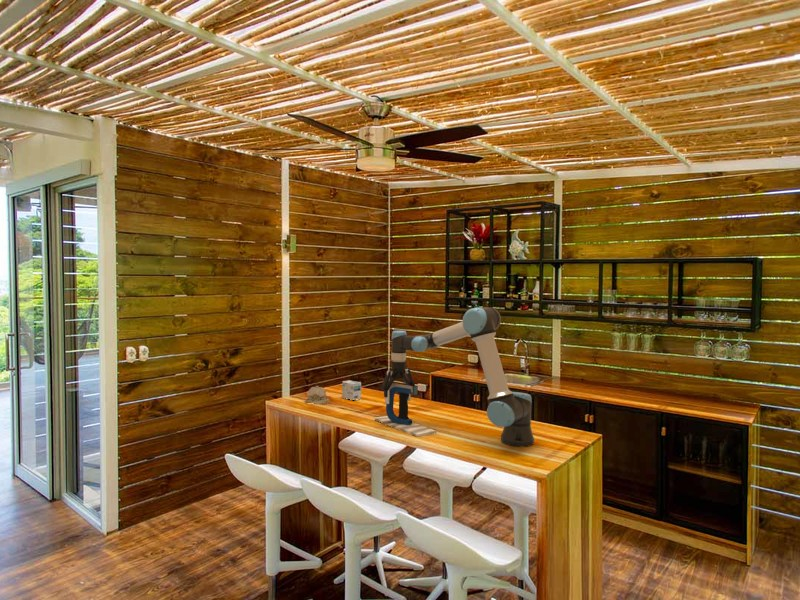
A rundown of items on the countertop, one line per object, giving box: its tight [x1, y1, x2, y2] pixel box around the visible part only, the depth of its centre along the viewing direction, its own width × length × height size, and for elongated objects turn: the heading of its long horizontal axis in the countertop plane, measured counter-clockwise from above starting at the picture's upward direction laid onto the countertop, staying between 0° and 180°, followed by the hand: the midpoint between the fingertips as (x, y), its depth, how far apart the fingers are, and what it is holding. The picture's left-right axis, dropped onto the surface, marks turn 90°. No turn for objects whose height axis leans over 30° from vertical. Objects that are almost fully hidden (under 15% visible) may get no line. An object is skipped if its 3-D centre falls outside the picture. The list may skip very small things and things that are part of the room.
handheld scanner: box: [385, 382, 419, 425], centre depth 273 cm, size 5×16×20 cm, turn 61°
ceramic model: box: [305, 385, 330, 405], centre depth 320 cm, size 14×11×10 cm
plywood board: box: [373, 415, 437, 438], centre depth 271 cm, size 36×12×1 cm, turn 37°
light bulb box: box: [341, 380, 362, 401], centre depth 331 cm, size 11×7×11 cm, turn 49°
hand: (397, 402), depth 276 cm, fingers open, 13 cm apart
